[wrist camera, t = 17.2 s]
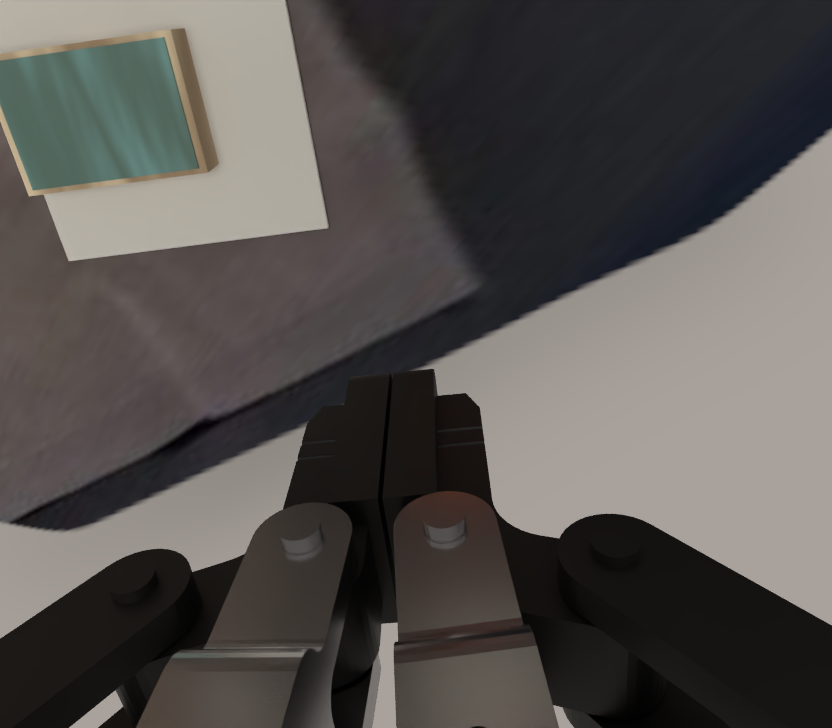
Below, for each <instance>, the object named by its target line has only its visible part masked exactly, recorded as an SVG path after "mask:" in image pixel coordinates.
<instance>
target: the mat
mask: <svg viewBox="0 0 832 728" xmlns="http://www.w3.org/2000/svg"><path fill="white" fill-rule="evenodd" d="M181 28H185V31H186V35H187V39H188V43H189V47H190V51H191V55H192V59H193V63H194V67H195V71H196V75H197V79H198V83H199V87H200V91H201V95H202V99H203V103H204V107H205V110H206V114H207V118H208V122H209V126H210V130H211V134H212V138H213V142H214V146H215V150H216V154H217V158H218V162H219V164H218V165H217V166H216V167H214V168H213V169H212V170H211V171H209V172H208V173H202V174H194V175H186V176H179V177H171V178H164V179H156V180H149V181H141V182H133V183H126V184H118V185H111V186H103V187H96V188H88V189H81V190H73V191H65V192H58V193H50V194H44V196H45V199H46V202H47V204H48V207H49V210H50V212H51V215H52V218H53V220H54V223H55V226H56V228H57V231H58V234H59V236H60V239H61V242H62V244H63V247H64V250H65V252H66V255H67V258H68V260H69V261H74V260H82V259H90V258H98V257H105V256H113V255H121V254H129V253H137V252H145V251H152V250H160V249H168V248H176V247H184V246H192V245H199V244H207V243H215V242H223V241H231V240H238V239H246V238H254V237H262V236H270V235H278V234H285V233H293V232H301V231H309V230H317V229H325V228H329V223H328V218H327V213H326V208H325V202H324V197H323V192H322V186H321V181H320V176H319V171H318V165H317V160H316V155H315V149H314V144H313V139H312V134H311V128H310V123H309V118H308V112H307V107H306V102H305V97H304V91H303V86H302V81H301V75H300V70H299V65H298V60H297V54H296V49H295V44H294V38H293V33H292V28H291V23H290V17H289V12H288V7H287V1H286V0H0V54H2V53H9V52H16V51H23V50H30V49H37V48H44V47H51V46H58V45H65V44H72V43H79V42H86V41H93V40H100V39H107V38H114V37H121V36H128V35H135V34H142V33H149V32H156V31H162V30H169V29H181Z"/></svg>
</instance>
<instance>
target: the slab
mask: <svg viewBox="0 0 832 728" xmlns="http://www.w3.org/2000/svg"><path fill="white" fill-rule="evenodd" d="M0 122H1V125H2V127H3V130H4V132H5V135H6V138H7V140H8V143H9V145H10V148H11V150H12V153H13V156H14V158H15V161H16V163H17V166H18V169H19V171H20V174H21V176H22V179H23V182H24V184H25V187H26V189H27V192H28V194H29V196H35V195H43V194H50V193H58V192H65V191H73V190H81V189H88V188H96V187H103V186H111V185H118V184H126V183H133V182H141V181H149V180H156V179H164V178H171V177H179V176H186V175H194V174H202V173H208V172H209V171H211V170H212V169H213V168H214V167H216V166H217V165H218V164H219V162H218V158H217V154H216V150H215V146H214V142H213V138H212V134H211V130H210V126H209V122H208V118H207V114H206V110H205V107H204V103H203V99H202V95H201V91H200V87H199V83H198V79H197V75H196V71H195V67H194V63H193V59H192V55H191V51H190V47H189V43H188V39H187V35H186V31H185V28H181V29H169V30H162V31H156V32H149V33H142V34H135V35H128V36H121V37H114V38H107V39H100V40H93V41H86V42H79V43H72V44H65V45H58V46H51V47H44V48H37V49H30V50H23V51H16V52H9V53H2V54H0Z"/></svg>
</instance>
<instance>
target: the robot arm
mask: <svg viewBox="0 0 832 728" xmlns="http://www.w3.org/2000/svg"><path fill="white" fill-rule="evenodd" d="M396 622H398V642H395V643H394V675H395V700H396V726H397V728H559V727H558V723H557V719H556V715H555V712H554V708H553V705H556V706H560V707H563V710H564V712H565V714H566V716H567V718H568V720H569V721H570V723H571V724H572V725H573V726H574V728H832V625H830V624H828V623H826V622H824V621H822V620H821V619H819V618H817V617H815V616H814V615H812V614H810V613H808V612H806V611H805V610H803V609H801V608H799V607H797V606H796V605H794V604H792V603H790V602H789V601H787V600H785V599H783V598H781V597H780V596H778V595H776V594H774V593H773V592H771V591H769V590H767V589H765V588H764V587H762V586H760V585H758V584H756V583H755V582H753V581H751V580H749V579H747V578H746V577H744V576H742V575H740V574H738V573H737V572H735V571H733V570H731V569H730V568H728V567H726V566H724V565H722V564H721V563H719V562H717V561H715V560H713V559H712V558H710V557H708V556H706V555H705V554H703V553H701V552H699V551H697V550H696V549H694V548H692V547H690V546H688V545H686V544H685V543H683V542H681V541H679V540H678V539H676V538H674V537H672V536H670V535H669V534H667V533H665V532H663V531H662V530H660V529H658V528H656V527H654V526H653V525H651V524H649V523H647V522H645V521H643V520H640V519H637V518H634V517H630V516H625V515H618V514H599V515H593V516H589V517H585V518H583V519H580V520H578V521H576V522H574V523H573V524H571V525H570V526H569V527H568V528H566V529H565V531H564V532H563V533H562V535H561V537H560V539H558V538H552V537H545V536H540V535H535V534H531V533H528V532H525V531H522V530H520V529H518V528H515V527H514V526H512V525H511V524H509V523H507V522H506V521H505V520H504V519H503V518H502V517H501V516H500V515H499V514H498V513H497V511H496V509H495V507H494V505H493V502H492V497H491V488H490V481H489V473H488V466H487V458H486V451H485V444H484V436H483V429H482V422H481V414H480V408H479V406H477V405H476V403H475V402H474V401H473V400H472V399H471V398H470V397H469V396H468V395H467V394H466V393H463V394H453V395H442V396H437V387H436V379H435V373H434V369H428V370H417V371H407V372H396V373H394V374H393V378H392V375H391V373H387V374H377V375H367V376H356V377H350V379H349V384H348V389H347V394H346V399H345V404H344V405H337V406H326V407H323V408H322V409H321V410H320V411H319V412H318V413H317V414H316V415H315V416H314V417H313V418H312V419H311V420H310V421H309V422H308V423H307V426H306V430H305V434H304V437H303V440H302V446H301V448H300V451H299V455H298V461H297V462H296V465H295V469H294V472H293V476H292V479H291V483H290V487H289V490H288V493H287V497H286V500H285V504H284V508H283V510H281V511H279V512H277V513H275V514H274V515H272V516H271V517H269V518H268V519H267V520H265V521H264V522H263V523H262V524H261V525H260V526H259V528H258V529H257V530H256V531H255V533H254V535H253V537H252V539H251V542H250V544H249V546H248V549H247V551H246V553H245V554H244V555H242V556H240V557H237V558H235V559H232V560H229V561H226V562H223V563H220V564H217V565H214V566H211V567H208V568H204V569H201V570H198V571H195V572H192V571H191V567H190V565H189V562H188V561H187V559H186V558H185V557H184V556H183V555H182V554H180V553H178V552H176V551H172V550H168V549H151V550H146V551H141V552H137V553H134V554H131V555H129V556H126V557H124V558H122V559H120V560H118V561H116V562H114V563H113V564H111V565H109V566H108V567H106V568H105V569H103V570H102V571H101V572H99V573H97V574H96V575H94V576H93V577H91V578H90V579H88V580H87V581H86V582H84V583H83V584H81V585H79V586H78V587H77V588H75V589H73V590H72V591H71V592H69V593H68V594H66V595H65V596H63V597H62V598H60V599H59V600H57V601H56V602H54V603H53V604H51V605H50V606H48V607H47V608H45V609H44V610H42V611H41V612H39V613H38V614H36V615H35V616H34V617H32V618H30V619H29V620H27V621H26V622H25V623H23V624H22V625H20V626H19V627H17V628H16V629H14V630H13V631H11V632H10V633H8V634H7V635H5V636H4V637H2V638H1V639H0V728H69V727H70V726H71V725H73V724H74V723H75V722H76V721H78V720H79V719H80V718H81V717H82V716H84V715H85V714H86V713H87V712H89V711H90V710H91V709H92V708H94V707H95V706H96V705H97V704H99V703H100V702H101V701H102V700H104V699H105V698H106V697H107V696H109V695H110V694H111V693H112V692H113V691H115V690H116V692H117V694H118V696H119V698H120V700H121V702H122V704H123V706H124V707H122V708H121V709H120V710H119V711H118V712H117V713H115V714H114V715H113V716H112V717H111V718H109V719H108V720H107V721H106V722H104V723H103V724H102V725H101V726H100V727H98V728H372V724H373V718H374V712H375V705H376V698H377V691H378V685H379V679H380V671H381V666H380V659H379V655H378V652H379V646H380V634H381V624H382V623H396Z"/></svg>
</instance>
